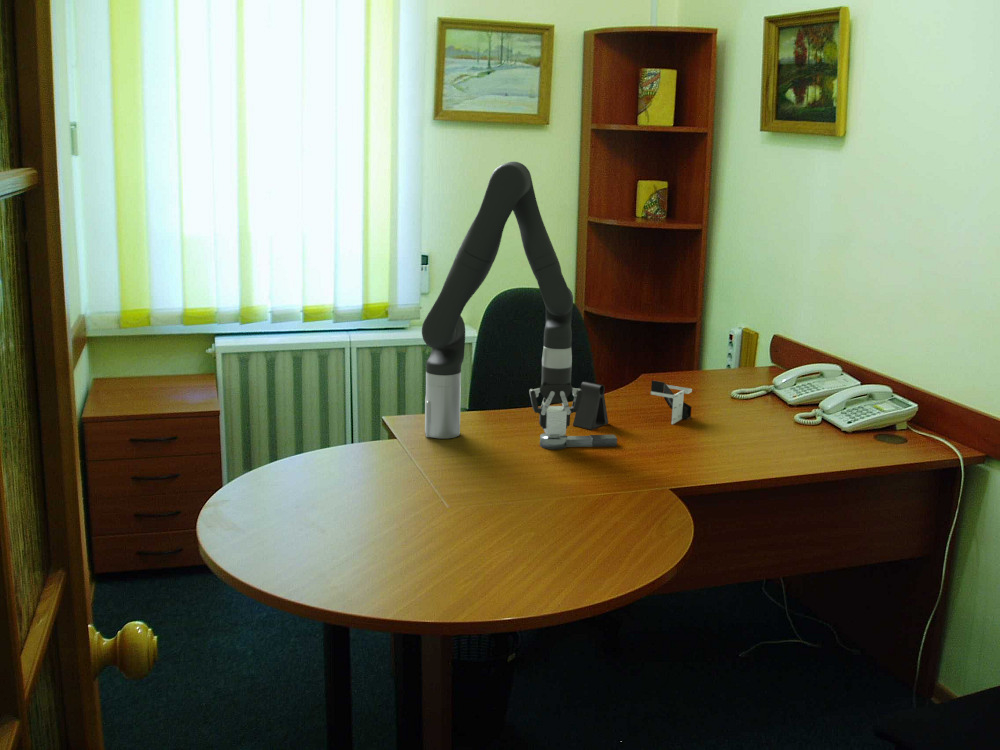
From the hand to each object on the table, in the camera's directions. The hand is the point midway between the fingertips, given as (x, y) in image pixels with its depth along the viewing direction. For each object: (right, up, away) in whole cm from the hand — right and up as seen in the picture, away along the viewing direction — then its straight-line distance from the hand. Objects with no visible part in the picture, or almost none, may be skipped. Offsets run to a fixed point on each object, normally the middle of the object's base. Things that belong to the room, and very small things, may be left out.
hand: (554, 427), depth 247 cm
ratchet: (+6, -5, +2) cm, 8 cm away
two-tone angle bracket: (+35, 0, +29) cm, 45 cm away
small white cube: (0, -1, 0) cm, 1 cm away
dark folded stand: (+11, -1, +21) cm, 24 cm away
